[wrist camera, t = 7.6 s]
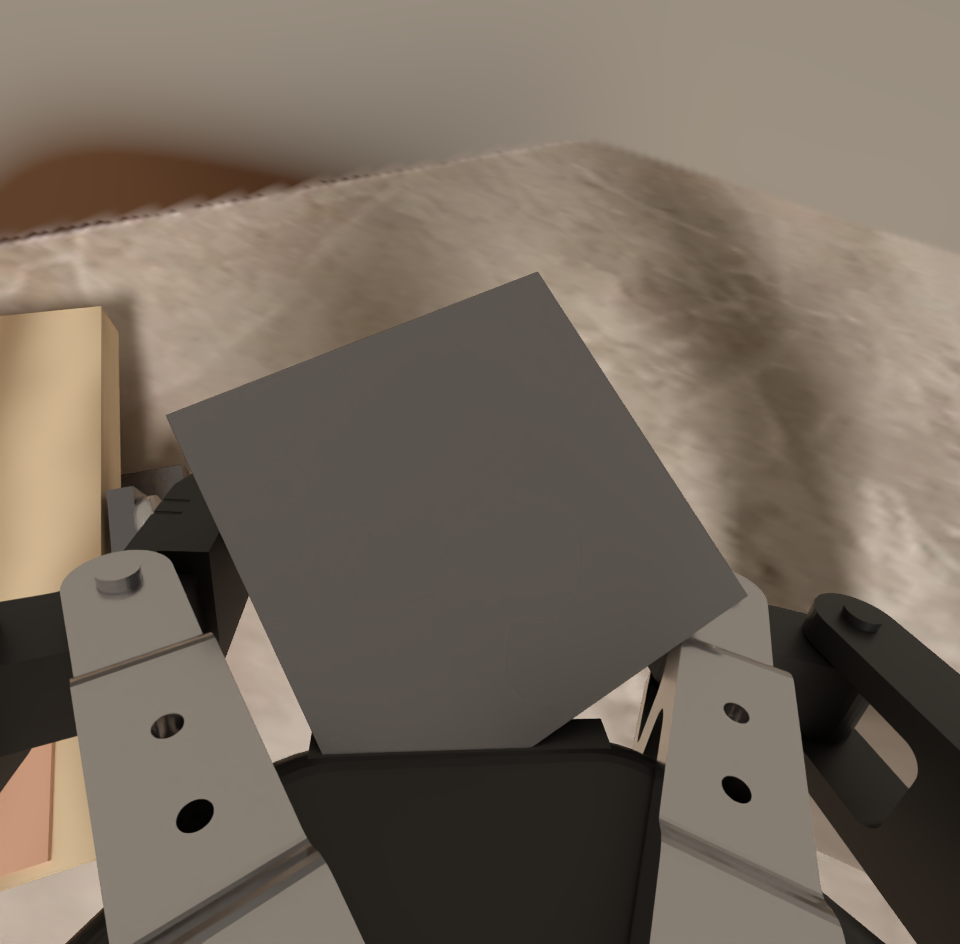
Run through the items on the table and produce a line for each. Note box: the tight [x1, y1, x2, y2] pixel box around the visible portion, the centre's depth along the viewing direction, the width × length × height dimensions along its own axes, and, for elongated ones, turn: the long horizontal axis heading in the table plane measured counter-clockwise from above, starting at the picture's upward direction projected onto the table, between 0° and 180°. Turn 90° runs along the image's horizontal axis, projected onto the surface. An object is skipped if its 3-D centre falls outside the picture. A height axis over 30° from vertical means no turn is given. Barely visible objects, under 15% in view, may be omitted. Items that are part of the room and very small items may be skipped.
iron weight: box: [166, 272, 748, 755], centre depth 11 cm, size 5×5×10 cm
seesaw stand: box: [106, 465, 188, 553], centre depth 24 cm, size 14×8×6 cm, turn 105°
